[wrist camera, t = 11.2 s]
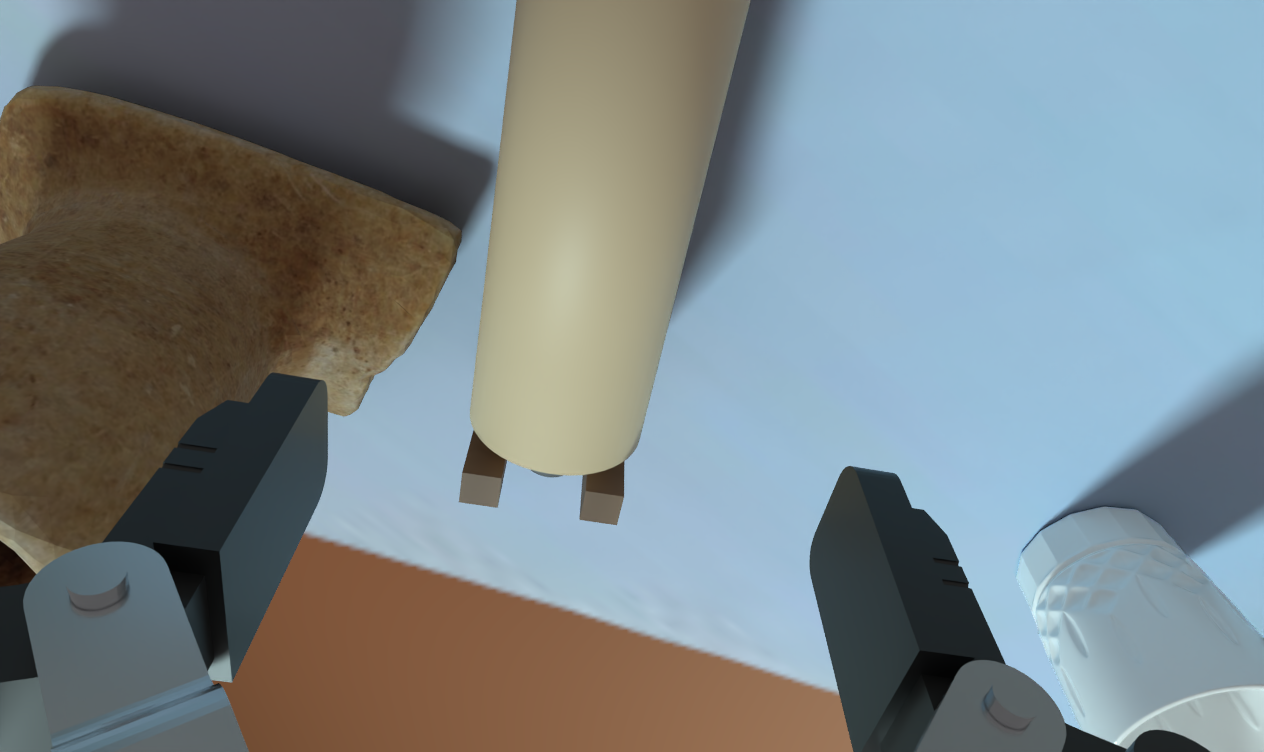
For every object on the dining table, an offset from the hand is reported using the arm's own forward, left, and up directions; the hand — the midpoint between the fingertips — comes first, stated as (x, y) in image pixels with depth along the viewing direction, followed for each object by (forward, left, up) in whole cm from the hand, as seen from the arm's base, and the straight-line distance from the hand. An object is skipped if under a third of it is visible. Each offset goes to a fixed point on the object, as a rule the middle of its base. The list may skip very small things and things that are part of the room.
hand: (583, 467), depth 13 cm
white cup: (-26, +15, -18) cm, 35 cm away
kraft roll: (0, 0, -15) cm, 15 cm away
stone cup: (+13, +8, -18) cm, 24 cm away
